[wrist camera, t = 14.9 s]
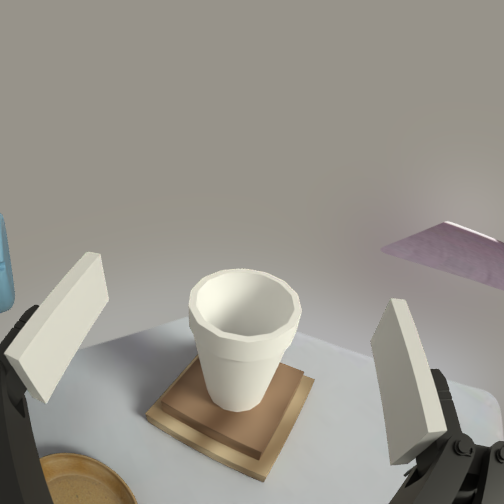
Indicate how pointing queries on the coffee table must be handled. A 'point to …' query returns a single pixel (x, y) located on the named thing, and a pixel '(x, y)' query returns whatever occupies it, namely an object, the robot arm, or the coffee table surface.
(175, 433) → the plinth
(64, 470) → the plant saucer
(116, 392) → the coffee table surface
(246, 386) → the foam cup
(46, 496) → the robot arm
